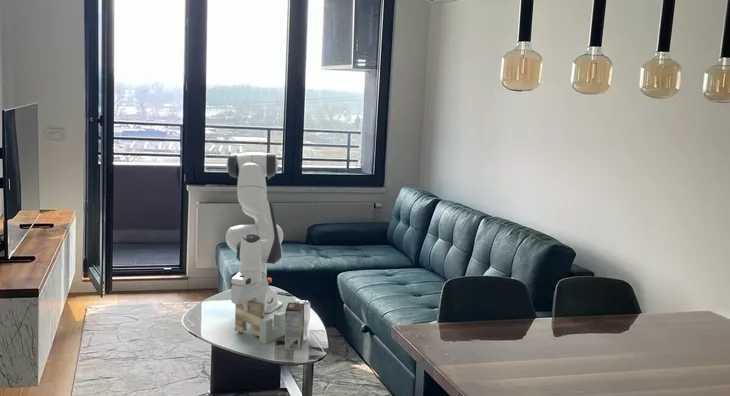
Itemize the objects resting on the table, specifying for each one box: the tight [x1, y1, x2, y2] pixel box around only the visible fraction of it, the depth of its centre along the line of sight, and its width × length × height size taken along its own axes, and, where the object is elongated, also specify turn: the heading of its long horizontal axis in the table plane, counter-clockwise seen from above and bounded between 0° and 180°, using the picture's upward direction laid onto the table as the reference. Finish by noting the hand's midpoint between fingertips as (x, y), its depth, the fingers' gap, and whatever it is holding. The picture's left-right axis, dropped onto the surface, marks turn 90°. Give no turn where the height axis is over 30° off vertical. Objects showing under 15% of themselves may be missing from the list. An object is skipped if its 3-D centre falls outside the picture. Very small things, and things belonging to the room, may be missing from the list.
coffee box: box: [284, 302, 304, 351], centre depth 267 cm, size 9×6×16 cm
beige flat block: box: [234, 300, 265, 337], centre depth 278 cm, size 3×12×13 cm, turn 63°
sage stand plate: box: [258, 311, 286, 345], centre depth 275 cm, size 14×3×9 cm, turn 153°
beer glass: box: [293, 300, 311, 343], centre depth 275 cm, size 7×7×15 cm
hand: (249, 309), depth 277 cm, fingers closed on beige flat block, 3 cm apart
